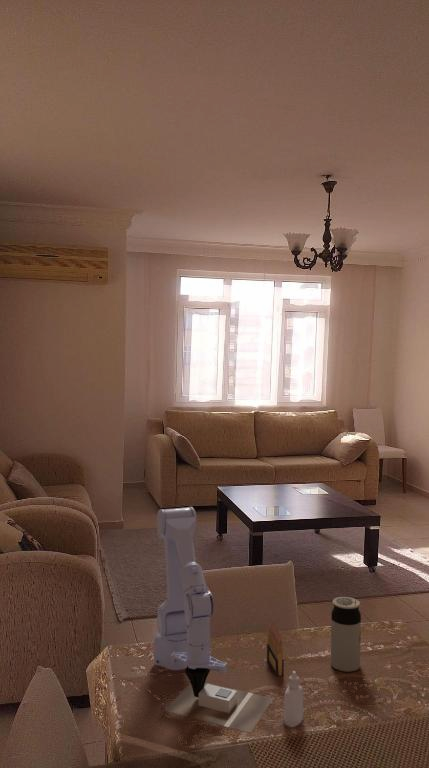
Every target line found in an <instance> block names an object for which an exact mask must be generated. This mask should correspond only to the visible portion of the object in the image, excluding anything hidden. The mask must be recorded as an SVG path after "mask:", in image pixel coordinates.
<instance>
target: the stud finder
mask: <svg viewBox="0 0 429 768" xmlns="http://www.w3.org/2000/svg"><path fill="white" fill-rule="evenodd" d="M211 684H212V683H209V684H207V685H206V686H205V687H204V688H203V689H202V690H201V691H200V692H199V706H203V707H207V708H211V709H215V710H219V711H223V712H227V713H229V712H230V711H231V710H232V708H233V707H234V706H235V705H236V703H237V691H236V690H237V689H235V690H231V689H232V688H231V689H227V688H228V687H227V688H223V687H224V686H222V687H219V686H220V685H218V686H215V685H216V684H214V685H211Z"/></svg>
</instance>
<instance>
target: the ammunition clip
mask: <svg viewBox="0 0 429 768" xmlns="http://www.w3.org/2000/svg"><path fill="white" fill-rule="evenodd" d="M267 634H268V635H267V643H266V662H267V663H269V664H268V666H269V665H270V666H269V667H270V670H271V671H272V673H273V674H276V676H285V675H284V672H285V671H284V669H285V664H284V661H285V660H284V656H283V653H284V651H283V650H284V648H283V638H282V635H281V633H280V631H279V630H278V628H277V627H276V625H275V624H274V622H273V620H272V619H270V621H269V626H268V633H267Z"/></svg>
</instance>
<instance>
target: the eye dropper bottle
mask: <svg viewBox="0 0 429 768" xmlns="http://www.w3.org/2000/svg"><path fill="white" fill-rule="evenodd" d="M291 673H292V674H291V675H289V677H288V686H287V687H286V689H285V692H284V697H283V698H284V699H283V702H284V703H283V705H284V706H283V707H284V708H283V724H284V725H285V726H287V727H289V728H295V727H297V726H299V725H300V724H301V723H302V721H303V718H304V687H303V686H302V685H300V677H299V676H298V675H297V673H296V671H295V670H293V671H292V672H291Z"/></svg>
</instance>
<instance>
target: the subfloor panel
mask: <svg viewBox="0 0 429 768" xmlns="http://www.w3.org/2000/svg"><path fill="white" fill-rule="evenodd" d="M207 684H211V685H215V686H219V687H223V688H227V689H231V690H236V691H237V703H236V705H235V706H234V707H233V708H232V710H231V711H230V712H229V713H227V712H223V711H219V710H215V709H211V708H207V707H203V706H199V698H198V697H194V693H193V689H192V685H191V683H190V682H189V684H188V685H187V686H186V687H185V688H184V689H183V690H182V691H181V692H180V694H178V695H177V696H176V698H175V699H173V701H172V702H170V703H169V705H168V706H167V707H166V708H164V712H167V713H170V714H175V715H178V716H183V717H186V718H189V719H195V720H197V721H202V722H206V723H208V724H209V723H210V724H212V725H213V724H214V725H217V726H220V727H225V728H228V729H232V730H237V731H241V732H245V733H249V734H252V732H253V730H254V729H255V727H256V726H257V724H258V723H259V721H260V719H261V718H262V717H263V716H264V713H265V712H266V710H268V708H269V706H270V705H271V703H272V702H273V700H274V698H273V697H270V696H264V695H261V694H256V693H251V692H248V691H244V690H239V689H234V688H230V687H226V686H223V685H218V684H212V683H209V682H205V684H204V687H205V686H206V685H207Z"/></svg>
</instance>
